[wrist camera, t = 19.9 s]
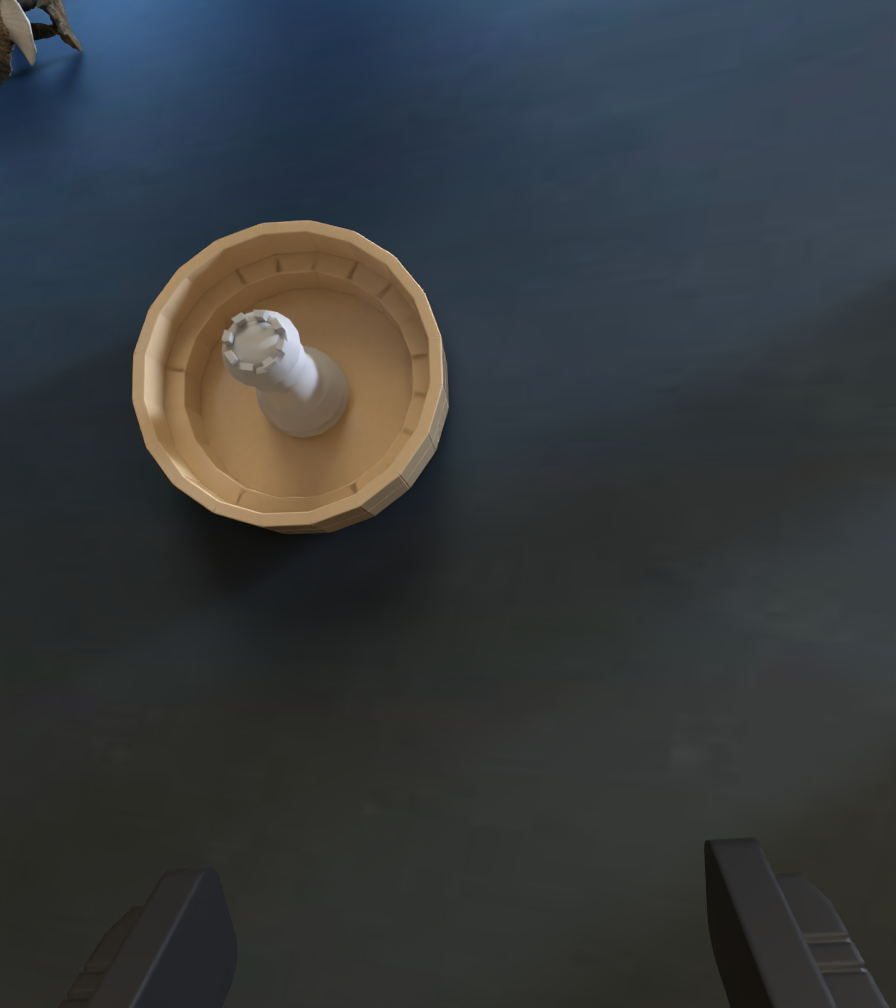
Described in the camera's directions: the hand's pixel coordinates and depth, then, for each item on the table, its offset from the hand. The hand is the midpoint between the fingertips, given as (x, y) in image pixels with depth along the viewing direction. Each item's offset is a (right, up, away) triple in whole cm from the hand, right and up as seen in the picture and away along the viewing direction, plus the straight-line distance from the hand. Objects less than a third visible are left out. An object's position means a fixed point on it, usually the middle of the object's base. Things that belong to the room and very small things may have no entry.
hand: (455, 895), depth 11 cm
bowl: (-7, +12, +25) cm, 28 cm away
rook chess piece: (-7, +12, +24) cm, 28 cm away
